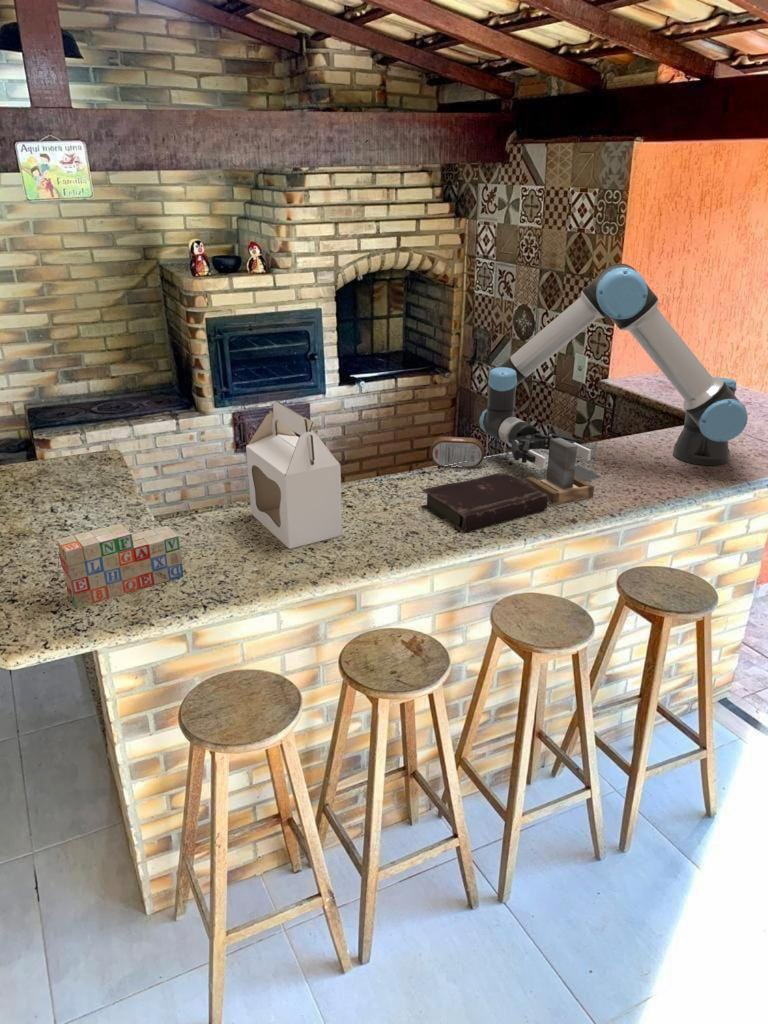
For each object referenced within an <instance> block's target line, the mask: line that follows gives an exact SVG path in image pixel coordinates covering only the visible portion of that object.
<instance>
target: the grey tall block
mask: <svg viewBox="0 0 768 1024" xmlns="http://www.w3.org/2000/svg"><path fill="white" fill-rule="evenodd" d="M576 453H577V446H576V445H574V444H572V443H570V442H568V441H566V440H564V439H562V438H554V439H550V446H549V450H548V457H547V466H546V468H547V470H546V477H545V478H544V479H540V481H539V482H541V483H543V484H545V485H546V486H548V487H550V488H551V489H553V490H555V491H557V492H558V491H563V490H568V489H573V488H578V487H577V486H576V485H574V484H573V480H574V471H575V466H576V461H577V455H576Z"/></svg>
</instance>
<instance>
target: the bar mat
mask: <svg viewBox="0 0 768 1024" xmlns="http://www.w3.org/2000/svg"><path fill="white" fill-rule="evenodd" d="M574 476H576V477H578V478H580V479H582V480H583V481H585V482H586V481H590V480H595V479H599V478H602V476H601V475H598V474H597V473H595V472H594V471H591V470H589V469H587V468H585V467H583V466H581V465H579V464H577V465H575V471H574Z"/></svg>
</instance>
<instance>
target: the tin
mask: <svg viewBox="0 0 768 1024" xmlns="http://www.w3.org/2000/svg"><path fill="white" fill-rule="evenodd" d="M429 450H430V451H429V452H430V458H431V460H432V462H433V463H434V464H436V465H437V466H439V467H441V466H444V465H448V466H445V467H444V468H452V467H451V466H456V465H459V466H462V467H466V468H465V469H474V468H477V467H478V466H480V464H481V463H483V460H484V458H485V453H486V452H485V446H484V445H483V443H482V442H481V441H480V440H478V438H474V437H458V436H441V437H438V438H436V439H435V440H433V441H432V443H431V445H430V449H429ZM464 461H467V462H464ZM459 462H462V463H459ZM454 463H457V464H454ZM449 464H453V465H449ZM456 467H458V466H456Z"/></svg>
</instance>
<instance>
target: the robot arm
mask: <svg viewBox="0 0 768 1024" xmlns="http://www.w3.org/2000/svg"><path fill="white" fill-rule="evenodd" d="M658 306H659V298H658V296H657V295H656V294H655V292H654V291H653V290H652V289H651V287H650V286H649V285H648V284H647V282H646V281H645V278H644V277H643V276H642V275H641V274H640V272H638V271H637V270H636V268H634V267H633V266H631V265H629V264H626V263H614V264H610V265H609V266H607V267H606V268H604V269H602V271H601V272H599V273H598V275H597V276H596V277H595V278H593V280H592V281H591V282H590V283H589V284H587V286H585V287H584V288H583V289H582V290H581V291H580V296H579V298H577V299H576V300H575V301H574V302H573V303H572V304H570V305H569V306H568V307H567V308H565V309H564V310H563V311H562V312H561V313H560V314H559V315H557V316H556V317H555V318H554V319H553V320H552V321H551V322H550V323H548V324H547V325H546V326H545V327H544V328H542V329H541V330H540V331H538V333H537V334H535V335H534V336H533V337H532V338H531V339H530V340H528V341H527V342H526V343H525V344H524V345H522V346H521V347H520V348H518V350H517V351H515V352H514V353H513V354H512V355H510V357H509V358H508V359H506V360H505V361H504V362H502V363H499V364H498V365H497V366H495V367H494V368H492V369H491V370H489V373H488V382H487V384H488V386H487V406H486V409H484V410H483V411H482V413H481V415H480V417H479V419H478V420H479V426H480V428H481V430H482V431H484V432H485V433H486V434H487V435H489V436H490V437H493V438H495V439H497V440H499V441H501V442H503V443H504V444H507V446H508V447H507V449H508V450H510V451H511V453H512V457H513V460H515V461H519V460H520V459H521V463H523V464H527V462H530V463H532V464H533V465H535V466H537V467H539V468H541V470H543V469H546V468H547V466H546V464H547V457H545V456H544V455H541V454H539V453H538V452H536V451H534V450H540V449H541V450H542V449H543V450H548V451H549V446H550V439H554V438H562V439H564V440H566V441H568V442H570V443H572V444H574V445H576V446H577V453H576V457H580V458H581V459H584V460H585V461H588V462H589V461H591V456H592V449H590V448H588V447H585V446H583V445H582V439H580V438H579V439H578V438H574V437H569V436H564V435H560V434H555V432H554V433H553V432H548V433H547V435H546V434H542V433H539V431H538V430H537V428H536V427H535V426H534V425H532V424H530V423H528V422H526V421H524V420H522V419H520V418H517V417H515V414H514V413H515V400H516V391H517V386H518V385H519V384H521V383H522V382H523V381H524V380H526V378H528V376H530V375H531V374H532V373H533V372H535V370H537V369H538V368H539V367H541V366H542V365H543V364H544V363H545V362H546V361H548V360H549V359H550V358H552V357H553V356H554V355H556V353H558V352H559V351H560V350H561V349H562V348H564V347H565V346H566V345H567V344H569V343H570V342H571V341H572V340H573V339H575V338H576V337H577V336H578V335H579V334H580V333H582V332H583V331H584V330H585V329H586V328H588V327H589V326H590V325H592V324H593V323H594V322H595V321H596V320H598V319H604V318H606V317H607V316H608V317H609V318H610V319H611V321H612V322H613V323H614V324H615V326H617V328H618V330H620V331H628V332H629V333H630V334H631V335H632V336H633V337H634V339H635V340H636V341H637V343H639V345H640V346H641V348H642V349H643V350H644V351H645V353H646V354H647V355H648V356H649V357H650V359H651V360H652V361H653V362H654V364H655V365H656V366H657V368H659V370H660V371H661V372H662V373H663V375H664V376H665V377H666V379H667V380H668V381H669V383H671V385H673V388H675V389H676V390H677V392H678V394H680V396H681V397H682V399H683V400H684V401H683V403H682V404H683V406H682V408H683V410H685V417H684V424H683V428H682V431H681V432H680V434H679V436H678V438H677V440H676V442H675V444H674V446H673V449H672V455H673V456H674V457H675V458H676V459H678V460H680V461H682V462H684V463H685V462H686V463H689V464H694V465H698V466H699V465H701V466H722V465H724V464H726V463H729V460H730V455H731V450H730V449H729V441H731V440H733V439H735V438H737V437H738V436H739V435H741V433H742V432H743V431H744V430H745V428H746V426H747V424H748V420H749V417H748V410H747V408H746V407H745V405H744V404H743V403H742V402H741V401H740V400H739V399H738V398H737V396H736V391H737V381H736V380H735V379H732V378H726V377H719V376H717V377H716V376H712V375H711V374H710V372H709V371H708V370H707V369H706V367H705V366H704V365H703V364H702V362H701V360H699V359H698V357H697V356H696V355H695V354H694V353H693V351H692V350H691V349H690V347H689V346H688V345H687V343H686V342H685V341H684V340H683V338H682V337H681V336H680V335H679V333H678V332H677V331H676V330H675V328H674V327H673V326H672V324H671V323H670V322H669V321H668V320H667V318H666V317H665V315H664V314H662V311H660V309H659V307H658ZM546 443H547V445H546Z"/></svg>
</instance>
